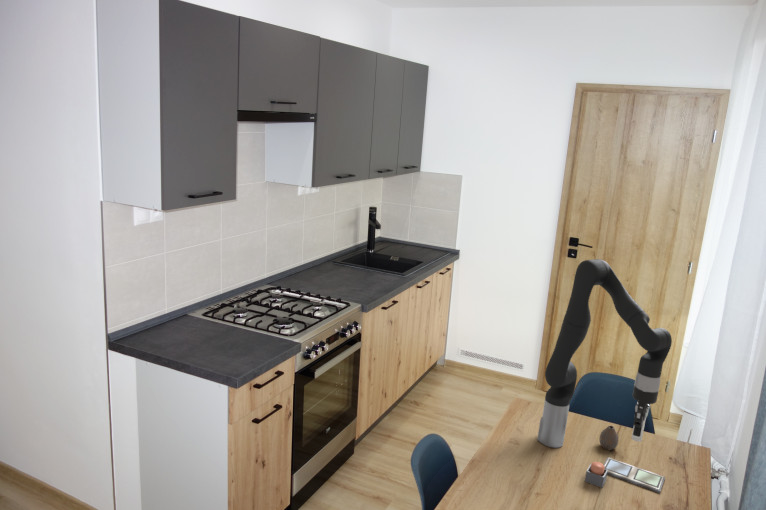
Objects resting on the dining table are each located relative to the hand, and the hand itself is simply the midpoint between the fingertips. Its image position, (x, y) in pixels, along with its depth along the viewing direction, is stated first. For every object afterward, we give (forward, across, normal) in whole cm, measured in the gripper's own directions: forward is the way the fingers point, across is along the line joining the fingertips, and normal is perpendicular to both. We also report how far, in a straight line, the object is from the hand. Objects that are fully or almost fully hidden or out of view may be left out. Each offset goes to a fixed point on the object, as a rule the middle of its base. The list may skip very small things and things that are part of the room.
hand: (637, 433), depth 205 cm
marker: (+2, 0, 0) cm, 2 cm away
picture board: (+21, -10, 0) cm, 23 cm away
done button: (+19, +2, -10) cm, 21 cm away
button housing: (+21, +2, -10) cm, 24 cm away
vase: (+21, -25, -12) cm, 35 cm away
